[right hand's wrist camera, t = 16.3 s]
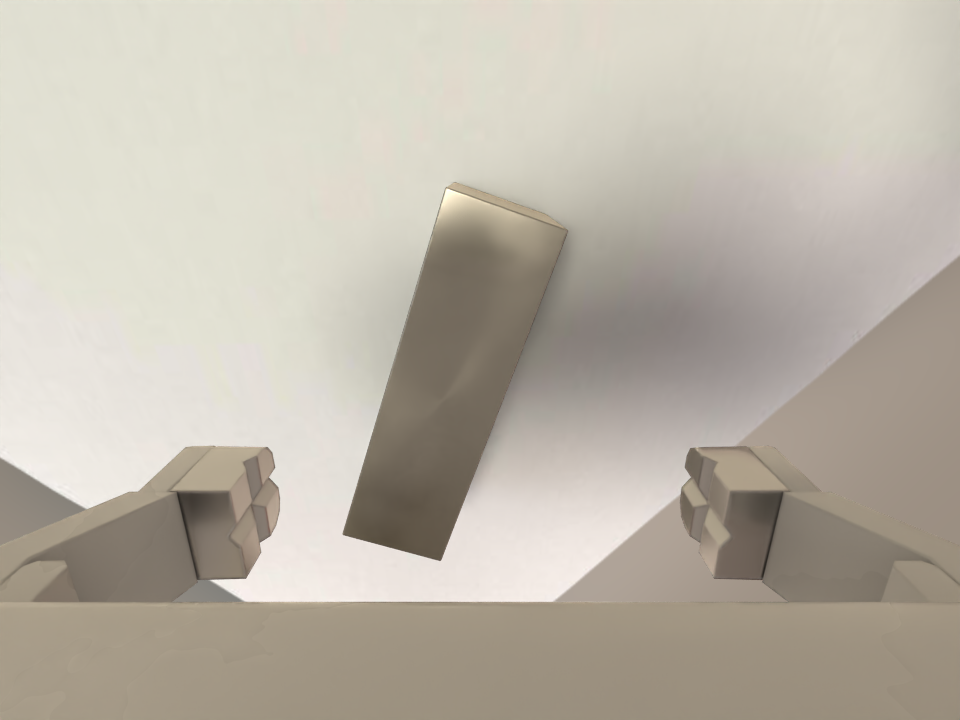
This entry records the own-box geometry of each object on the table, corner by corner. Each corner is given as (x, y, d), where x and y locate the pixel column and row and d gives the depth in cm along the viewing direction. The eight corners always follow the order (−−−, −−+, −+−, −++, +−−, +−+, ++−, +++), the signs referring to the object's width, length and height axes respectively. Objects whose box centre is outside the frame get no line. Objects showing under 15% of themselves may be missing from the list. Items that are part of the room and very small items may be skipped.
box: (454, 181, 32) (445, 186, 24) (547, 214, 33) (568, 230, 25) (370, 459, 39) (342, 535, 31) (448, 481, 40) (440, 561, 32)
